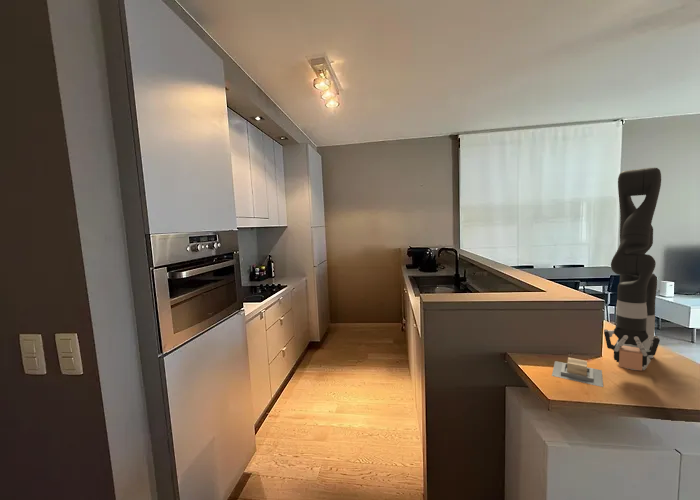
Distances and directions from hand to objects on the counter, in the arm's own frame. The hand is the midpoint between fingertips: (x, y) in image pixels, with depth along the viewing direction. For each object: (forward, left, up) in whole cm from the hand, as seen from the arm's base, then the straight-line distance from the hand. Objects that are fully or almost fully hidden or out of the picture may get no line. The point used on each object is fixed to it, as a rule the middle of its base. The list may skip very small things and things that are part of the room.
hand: (629, 363), depth 104 cm
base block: (+3, -14, -6) cm, 15 cm away
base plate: (+3, -14, -7) cm, 16 cm away
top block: (0, 0, -1) cm, 1 cm away
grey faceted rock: (-13, +2, -7) cm, 15 cm away
